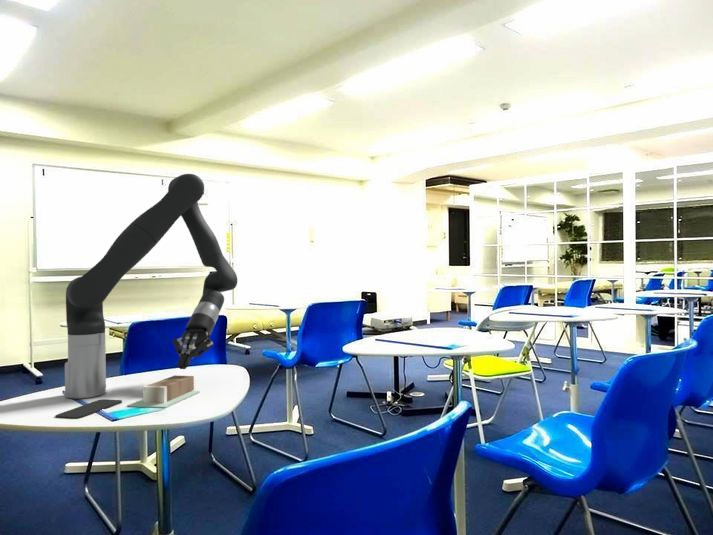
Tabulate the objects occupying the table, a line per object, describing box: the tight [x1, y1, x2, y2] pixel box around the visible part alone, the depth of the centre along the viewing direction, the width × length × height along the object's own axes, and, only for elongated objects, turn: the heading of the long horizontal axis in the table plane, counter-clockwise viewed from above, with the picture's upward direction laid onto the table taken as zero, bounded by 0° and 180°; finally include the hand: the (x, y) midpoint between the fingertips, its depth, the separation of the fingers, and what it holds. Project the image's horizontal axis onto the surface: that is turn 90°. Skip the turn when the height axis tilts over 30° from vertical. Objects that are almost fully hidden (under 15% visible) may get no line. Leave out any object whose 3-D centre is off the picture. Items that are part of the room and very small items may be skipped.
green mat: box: [126, 390, 201, 409], centre depth 129 cm, size 11×16×1 cm
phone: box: [54, 398, 123, 420], centre depth 120 cm, size 7×1×15 cm
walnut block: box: [142, 374, 195, 403], centre depth 131 cm, size 6×4×14 cm
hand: (181, 367), depth 136 cm, fingers closed
